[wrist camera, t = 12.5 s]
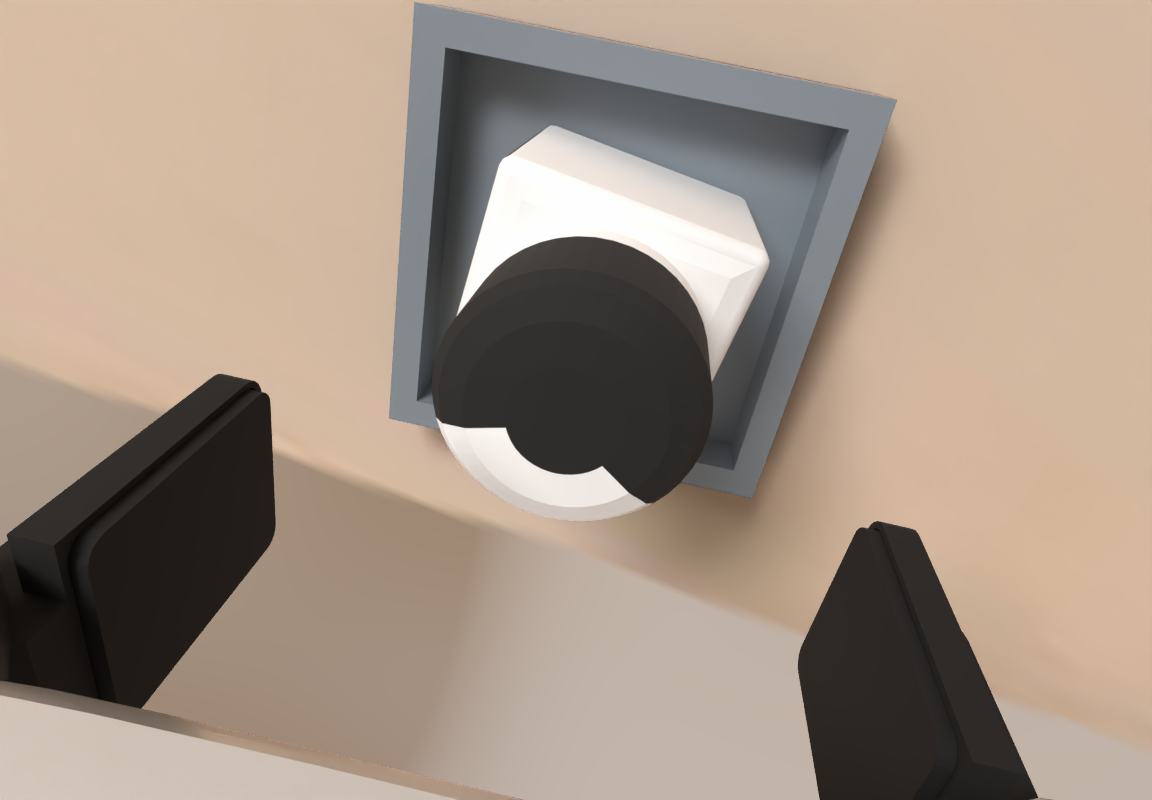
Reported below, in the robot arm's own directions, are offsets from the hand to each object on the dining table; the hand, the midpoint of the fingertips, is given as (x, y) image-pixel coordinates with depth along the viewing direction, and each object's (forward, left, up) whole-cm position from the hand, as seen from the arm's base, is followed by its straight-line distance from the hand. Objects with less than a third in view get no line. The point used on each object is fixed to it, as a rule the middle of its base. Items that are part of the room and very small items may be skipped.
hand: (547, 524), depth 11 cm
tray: (0, 0, -16) cm, 16 cm away
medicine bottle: (0, 0, -16) cm, 16 cm away
